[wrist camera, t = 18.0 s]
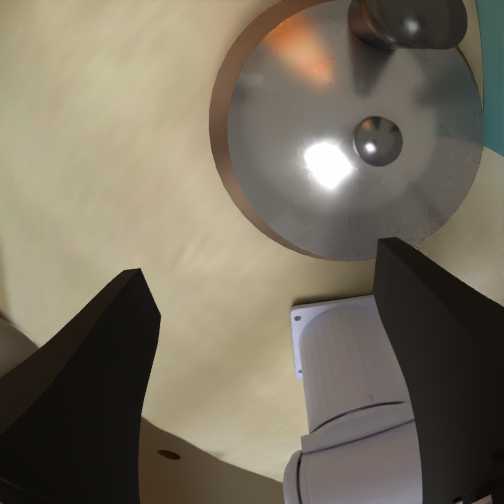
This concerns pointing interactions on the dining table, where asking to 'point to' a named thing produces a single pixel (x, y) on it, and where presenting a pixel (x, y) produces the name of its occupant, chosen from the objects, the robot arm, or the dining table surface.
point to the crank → (358, 124)
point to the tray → (492, 71)
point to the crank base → (220, 106)
